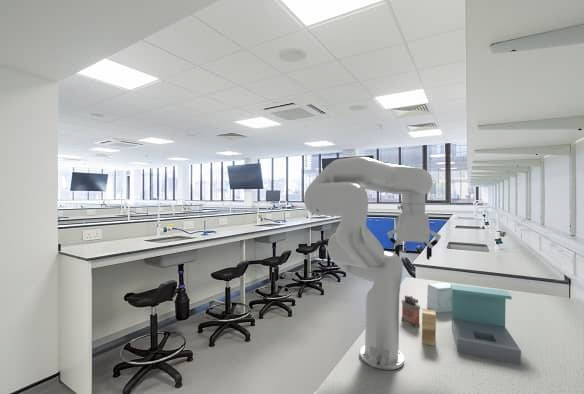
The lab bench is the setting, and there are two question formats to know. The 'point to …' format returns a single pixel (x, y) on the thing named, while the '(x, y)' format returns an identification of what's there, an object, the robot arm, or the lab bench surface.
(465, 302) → the socket block
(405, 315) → the lighter
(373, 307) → the robot arm
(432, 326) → the peg
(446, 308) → the skincare box
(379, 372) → the lab bench surface
